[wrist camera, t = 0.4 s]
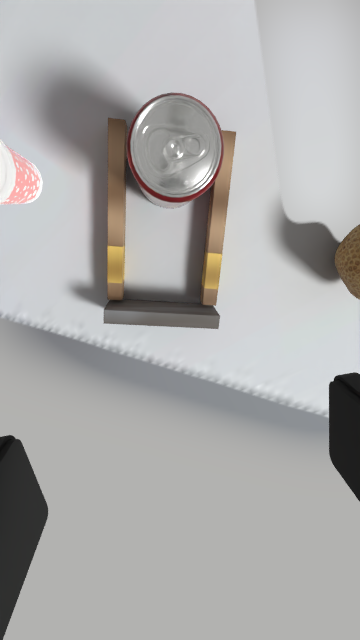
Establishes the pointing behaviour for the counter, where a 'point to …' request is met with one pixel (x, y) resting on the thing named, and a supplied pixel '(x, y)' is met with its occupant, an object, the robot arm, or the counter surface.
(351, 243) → the natural sponge
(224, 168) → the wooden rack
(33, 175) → the beverage cup
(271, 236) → the counter surface
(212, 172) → the soda can
